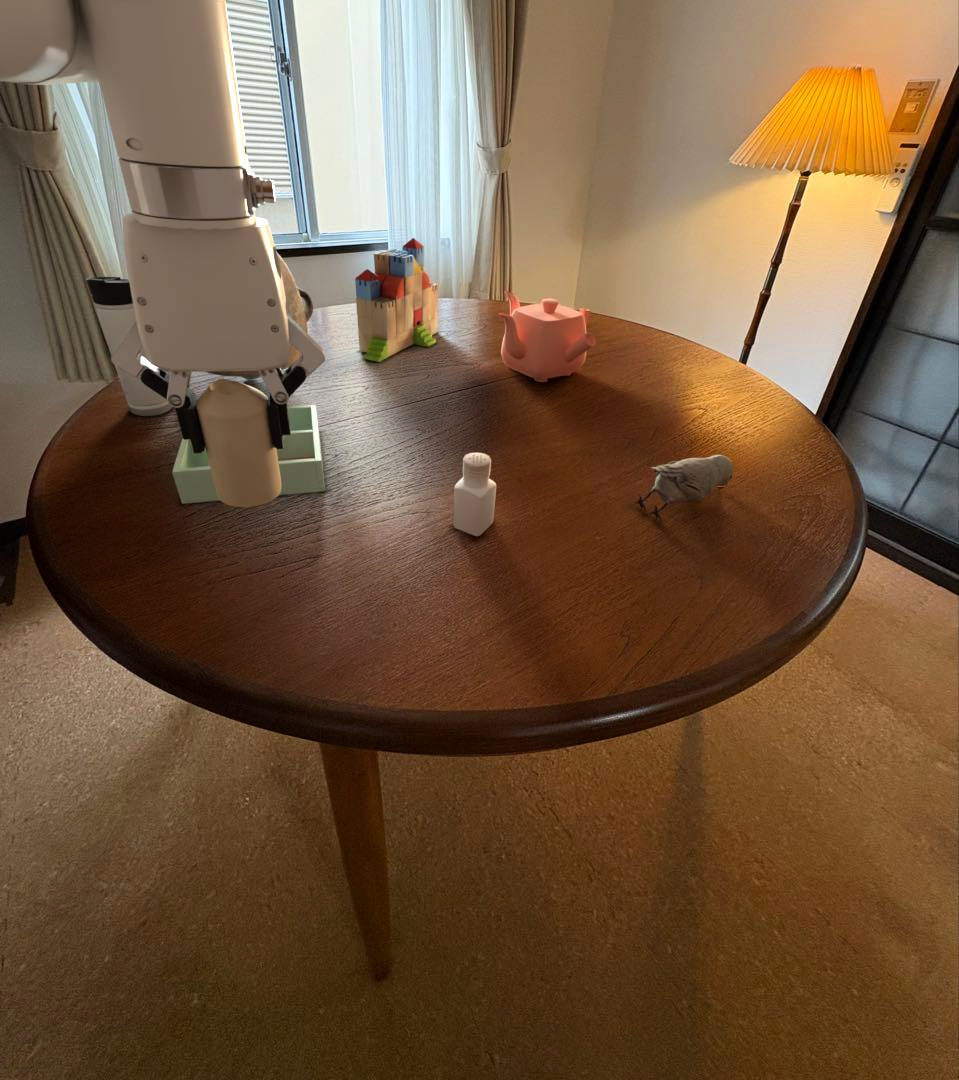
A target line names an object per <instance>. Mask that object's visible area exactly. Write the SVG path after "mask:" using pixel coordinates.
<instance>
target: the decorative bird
mask: <svg viewBox="0 0 959 1080" xmlns="http://www.w3.org/2000/svg"><path fill="white" fill-rule="evenodd" d="M649 468H650V469H654V470H652V471H653V473H656V475H657V476H656V477H655V481H654V486H653V487H652V488H651V489H650V490H649V492H648V493H647V495H646V496H645V497H644V498H643V497H642V495H641V494H638V496H639V498H638V500H637V501H636V502H634V503H633V504H634V505H636V504H638V505H639V506H640V508H639V510H640V511H641V510H642V508H643V509H644V512H647V511H646V510H647V509H646V505H645V504H644V501H646V500H648V498H649V497H650V496H651V495H652V494H653V493H657V494H658V496H659V497H660V498H661V500H662V501H663V502H665V503H664V504H663V505H662V506H661V507H660V508H658V506H657V505H656V504H655V505H654V507H655V508H654V510H653V511H652V512H650V513H649V515H654V516H655V521H658V519H659V520H660V522H662V517H661V515H660V512H662V511H663V510H664V509H665V508H666V507H667V505H670V504H684V503H689V501H690V502H694V503H700V502H702V501H704V500H706V498H707V497H708V496H709V495H710V494H711V493H712V492H713V491H714V490H715V488H717V489H719V490H722V489H724V488H725V487H717V486H724V485H726V486H728V484H729V482H730V481H731V480H732V478H733V475H734V464H733V462H732V461H731V459H730V458H729V457H727V455H723V454H714V455H711V456H708V457H689V458H685V459H684V458H683V459H681V460H673V461H670V462H668V463H666V464H663V465H657V466H654V467H653V466H652V467H649Z"/></svg>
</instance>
